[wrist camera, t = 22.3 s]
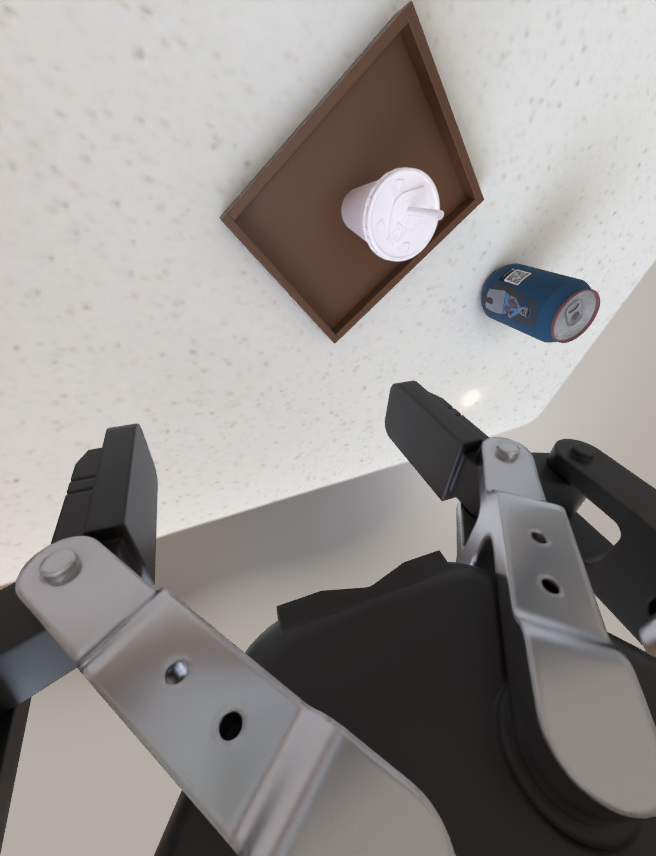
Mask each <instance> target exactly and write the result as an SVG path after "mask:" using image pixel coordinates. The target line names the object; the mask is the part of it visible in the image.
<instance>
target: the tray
mask: <svg viewBox="0 0 656 856" xmlns="http://www.w3.org/2000/svg"><path fill="white" fill-rule="evenodd" d="M403 167H408V168H415V169H419V170H421V171H423V172H424V173H426V174H427V175H428V176H429V177H430V178H431V179H432V181H433V182H434V184H435V186H436V188H437V191H438V195H439V202H440V210H442V211H443V212H444V216H443V218H442V219H441V220H438V223H437V227H436V230H435V232H434V234H433V236H432V238H431V240H430V241H429V243H428V244H427V245H426V247H425V248H424V249H423V250H422V251H421V252H420V253H419V254H417V255H416V256H414V257H413V258H411V259H408V260H405V261H390V260H385V259H383V258H381V257H379V256H377V255H376V254H375V253H374V252H373V251H372V250H371V249H370V247H369V245H368V243H367V242H366V241H365V240H363V239H362V238H361V237H360V236H358V235H357V234H356V233H354V232H353V231H352V230H351V229H349V228H348V227H347V226H346V225H345V223H344V221H343V219H342V214H341V208H342V203H343V200H344V198H345V196H346V195H347V194H348V193H349V192H350V191H351V190H353V189H355V188H357V187H360V186H363V185H366V184H368V183H371V182H374V181H377V180H379V179H380V178H381V177H382V176H384V175H385V174H386V173H387V172H390V171H392V170H394V169H396V168H403ZM483 200H484V198H483V196H482V193H481V190H480V187H479V185H478V182H477V179H476V176H475V173H474V171H473V168H472V165H471V162H470V160H469V157H468V154H467V151H466V149H465V146H464V143H463V140H462V138H461V135H460V132H459V129H458V127H457V124H456V121H455V118H454V116H453V113H452V110H451V107H450V105H449V102H448V99H447V96H446V93H445V91H444V88H443V85H442V82H441V80H440V77H439V74H438V71H437V69H436V66H435V63H434V60H433V58H432V55H431V52H430V49H429V47H428V44H427V41H426V38H425V36H424V33H423V30H422V27H421V25H420V22H419V19H418V16H417V13H416V11H415V8H414V5H413V2H412V1H410V2H409V3H408V4H407V5H405V6H404V7H403V8H402V9H401V10H399V11H398V12H397V13H396V14H395V15H394V17H393V18H392V19H391V20H390V21H389V22H388V24H387V25H386V26H385V27H384V28H383V29H382V30H381V32H380V33H379V34H378V35H377V36H376V37H375V39H374V40H373V41H372V42H371V43H370V44H369V46H368V47H367V48H366V49H365V50H364V51H363V53H362V54H361V55H360V56H359V57H358V58H357V59H356V61H355V62H354V63H353V64H352V65H351V66H350V68H349V69H348V70H347V71H346V72H345V73H344V75H343V76H342V77H341V78H340V79H339V80H338V82H337V83H336V84H335V85H334V86H333V87H332V88H331V90H330V91H329V92H328V93H327V94H326V95H325V97H324V98H323V99H322V100H321V101H320V102H319V104H318V105H317V106H316V107H315V108H314V109H313V111H312V112H311V113H310V114H309V115H308V116H307V117H306V119H305V120H304V121H303V122H302V123H301V124H300V126H299V127H298V128H297V129H296V130H295V131H294V133H293V134H292V135H291V136H290V137H289V138H288V140H287V141H286V142H285V143H284V144H283V145H282V146H281V148H280V149H279V150H278V151H277V152H276V153H275V155H274V156H273V157H272V158H271V159H270V160H269V162H268V163H267V164H266V165H265V166H264V167H263V169H262V170H261V171H260V172H259V173H258V174H257V175H256V177H255V178H254V179H253V180H252V181H251V182H250V184H249V185H248V186H247V187H246V188H245V189H244V191H243V192H242V193H241V194H240V195H239V196H238V198H237V199H236V200H235V201H234V202H233V203H232V204H231V206H230V207H229V208H228V209H227V210H226V211H225V213H224V214H223V215H222V216H221V217H220V219H221V220H222V221H223V223H224V224H225V225H226V226H227V227H228V228H229V229H230V230H231V231H232V232H233V233H234V235H235V236H236V237H237V238H238V239H239V240H240V241H241V242H242V243H243V244H244V245H245V247H246V248H247V249H248V250H249V251H250V252H251V253H252V254H253V255H254V256H255V257H256V259H257V260H258V261H259V262H260V263H261V264H262V265H263V266H264V267H265V268H266V269H267V271H268V272H269V273H270V274H271V275H272V276H273V277H274V278H275V279H276V280H277V281H278V283H279V284H280V285H281V286H282V287H283V288H284V289H285V290H286V291H287V292H288V293H289V295H290V296H291V297H292V298H293V299H294V300H295V301H296V302H297V303H298V304H299V305H300V306H301V308H302V309H303V310H304V311H305V312H306V313H307V314H308V315H309V316H310V317H311V318H312V320H313V321H314V322H315V323H316V324H317V325H318V326H319V327H320V328H321V329H322V330H323V332H324V333H325V334H326V335H327V336H328V337H329V338H330V339H331V340H332V341H333V342H334V343H336V342H337V341H338V340H339V339H340V338H341V337H342V336H343V335H344V334H345V333H346V332H347V331H348V330H350V329H351V328H352V327H353V326H354V325H355V324H356V323H357V322H358V321H359V320H360V319H361V318H362V317H363V316H364V315H365V314H366V313H367V312H368V311H369V310H370V309H371V308H372V307H373V306H374V305H375V304H376V303H377V302H379V301H380V300H381V299H382V298H383V297H384V296H385V295H386V294H387V293H388V292H389V291H390V290H391V289H392V288H393V287H394V286H395V285H396V284H397V283H398V282H399V281H400V280H401V279H402V278H403V277H404V276H405V275H406V274H408V273H409V272H410V271H411V270H412V269H413V268H414V267H415V266H416V265H417V264H418V263H419V262H420V261H421V260H422V259H423V258H424V257H425V256H426V255H427V254H428V253H429V252H430V251H431V250H432V249H433V248H434V247H435V246H437V245H438V244H439V243H440V242H441V241H442V240H443V239H444V238H445V237H446V236H447V235H448V234H449V233H450V232H451V231H452V230H453V229H454V228H455V227H456V226H457V225H458V224H459V223H460V222H461V221H462V220H463V219H464V218H466V217H467V216H468V215H469V214H470V213H471V212H472V211H473V210H474V209H475V208H476V207H477V206H478V205H479V204H480V203H481V202H482V201H483Z"/></svg>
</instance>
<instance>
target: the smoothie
mask: <svg viewBox="0 0 656 856" xmlns="http://www.w3.org/2000/svg"><path fill="white" fill-rule="evenodd" d="M341 214H342V219H343V221H344V223H345V225H346V226H347V227H348V228H349V229H351V230H352V231H353V232H354V233H356V234H357V235H358V236H360V237H361V238H362V239H363V240H365V241H366V242H367V243H368V245H369V247H370V249H371V250H372V251H373V252H374V253H375V254H376V255H377V256H379V257H381V258H383V259H385V260H390V261H405V260H408V259H411V258H413V257H414V256H416V255H417V254H419V253H420V252H421V251H422V250H423V249H424V248H425V247H426V245H427V244H428V243H429V241H430V240H431V238H432V236H433V234H434V232H435V230H436V227H437V223H438V220H441V219H442V218H443V216H444V212H443V211H442V210H440V202H439V195H438V191H437V188H436V186H435V184H434V182H433V181H432V179H431V178H430V177H429V176H428V175H427V174H426V173H424V172H423V171H421V170H419V169H415V168H408V167H403V168H396V169H394V170H392V171H390V172H387V173H386V174H385V175H384V176H382V177H381V178H380V179H379V180H377V181H374V182H371V183H368V184H366V185H363V186H360V187H357V188H355V189H353V190H351V191H350V192H349V193H348V194H347V195H346V196H345V198H344V200H343V203H342V208H341Z"/></svg>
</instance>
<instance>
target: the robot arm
mask: <svg viewBox="0 0 656 856" xmlns="http://www.w3.org/2000/svg"><path fill="white" fill-rule="evenodd" d="M385 428H386V432H387V434H388V436H389V437H390V439H391V440H392V441H393V442H394V443H395V445H396V446H397V447H398V448H399V450H400V451H401V452H402V453H403V454H404V456H405V457H406V458H407V459H408V460H409V462H410V463H411V464H412V465H413V467H414V468H415V469H416V470H417V471H418V473H419V474H420V475H421V476H422V478H423V479H424V480H425V481H426V482H427V484H428V485H429V486H430V487H431V488H432V490H433V491H434V492H435V493H436V494H437V496H438V497H439V498H440V499H441V501H444V500H448V499H451V498H454V497H457V498H458V500H459V503H458V505H457V559H456V562H447V561H446V559H445V558H444V556H443V555H442V554H441V552H440V551H436V552H433V553H430V554H427V555H424V556H421V557H418V558H415V559H412V560H410V561H407V562H404V563H403V564H401V565H400V566H398V567H397V568H396V569H394V570H393V571H392V572H390V573H389V574H387V575H386V576H385V577H383V578H382V579H381V580H380V581H378V582H376V583H375V584H374V585H372V586H370V587H366V588H353V589H341V590H327V591H320V592H317V593H314V594H311V595H308V596H306V597H302V598H300V599H297V600H294V601H291V602H288V603H285V604H282V605H280V606H277V615H278V621H277V622H275V623H274V624H273V625H271V626H270V627H268V628H267V629H266V630H265V631H264V632H263V633H262V634H261V635H259V637H258V638H257V639H256V640H255V641H254V642H253V643H252V644H251V645H250V647H249V648H248V649H247V651H246V652H245V653H244V652H243V651H242V650H241V649H239V648H238V647H237V646H236V645H235V644H233V643H232V642H231V641H230V640H229V639H227V638H226V637H225V636H224V635H223V634H221V633H220V632H219V631H218V630H216V629H215V628H214V627H213V626H212V625H210V624H209V623H208V622H207V621H206V620H204V619H203V618H202V617H201V616H200V615H198V614H197V613H196V612H195V611H193V610H192V609H191V608H189V607H188V606H187V605H186V604H185V603H184V602H183V601H181V600H180V599H179V598H178V597H176V596H175V595H174V594H173V593H171V592H170V591H168V590H167V589H165V588H160V589H159V590H156V589H155V588H153V587H152V586H151V585H153V584H154V583H155V582H154V581H155V553H156V521H157V489H158V482H157V474H156V469H155V466H154V462H153V460H152V457H151V454H150V451H149V448H148V446H147V443H146V440H145V437H144V434H143V432H142V429H141V427H140V425H139V424H131V425H125V426H119V427H112V428H108V429H107V430H106V434H105V438H104V442H103V447H102V448H98V449H92V450H88V451H87V452H86V453H85V455H84V456H83V457H82V458H81V459H80V460H79V461H78V462H77V463H76V464H75V468H74V471H73V474H72V477H71V482H70V484H69V487H68V490H67V495H66V497H65V500H64V503H63V506H62V509H61V513H60V516H59V519H58V522H57V526H56V529H55V532H54V535H53V538H52V542H51V545H49V546H47V547H46V548H44V549H42V550H41V551H40V552H38V553H37V554H36V555H34V556H33V557H32V558H31V559H30V560H29V561H28V562H27V563H26V564H25V566H24V567H23V568H22V570H21V571H20V573H19V575H18V577H17V580H16V582H15V583H13V584H12V585H10V586H8V587H6V588H4V589H2V590H0V852H1V848H2V843H3V838H4V832H5V828H6V823H7V818H8V812H9V807H10V802H11V797H12V792H13V786H14V782H15V777H16V772H17V767H18V762H19V757H20V752H21V747H22V742H23V737H24V732H25V726H26V722H27V717H28V711H29V707H30V702H31V697H32V696H33V695H35V694H36V693H37V692H39V691H41V690H43V689H44V688H45V687H47V686H49V685H50V684H52V683H53V682H55V681H56V680H58V679H60V678H61V677H63V676H64V675H66V674H67V673H69V672H70V671H72V670H74V669H75V668H78V669H79V670H80V672H81V673H82V674H83V675H84V676H85V678H86V679H87V680H88V681H89V682H90V684H91V685H92V686H93V687H94V688H95V689H96V690H97V692H98V693H99V694H100V695H101V696H102V697H103V699H104V700H105V701H106V702H107V703H108V704H109V706H110V707H111V708H112V709H113V710H114V711H115V713H116V714H117V715H118V716H119V717H120V718H121V720H122V721H123V722H124V723H125V724H126V725H127V727H128V728H129V729H130V730H131V731H132V732H133V734H134V735H135V736H136V737H137V738H138V739H139V740H140V742H141V743H142V744H143V745H144V746H145V748H146V749H147V750H148V751H149V752H150V753H151V754H152V755H153V757H154V758H155V759H156V760H157V761H158V763H159V764H160V765H161V766H162V767H163V768H164V770H165V771H166V772H167V773H168V774H169V775H170V777H171V778H172V779H173V780H174V781H175V782H176V784H177V785H178V786H179V787H180V788H181V789H182V791H181V794H180V796H179V798H178V801H177V803H176V805H175V808H174V810H173V812H172V815H171V817H170V820H169V822H168V824H167V826H166V829H165V831H164V833H163V836H162V838H161V840H160V843H159V845H158V847H157V850H156V852H155V855H154V856H656V489H655V488H653V487H652V486H650V485H649V484H647V483H646V482H645V481H643V480H642V479H640V478H639V477H637V476H636V475H635V474H633V473H631V472H630V471H629V470H627V469H626V468H625V467H623V466H622V465H620V464H619V463H617V462H616V461H615V460H613V459H612V458H610V457H609V456H607V455H606V454H604V453H603V452H602V451H600V450H599V449H597V448H596V447H594V446H592V445H590V444H587V443H584V442H582V441H578V440H573V439H562V440H559V441H557V442H556V444H555V445H554V447H553V449H552V450H551V452H550V453H531V452H530V451H529V450H528V449H527V448H526V447H524V446H523V445H521V444H520V443H518V442H516V441H513V440H510V439H507V438H502V437H492V438H489V437H488V436H487V435H486V434H484V433H483V432H482V431H481V430H480V429H478V428H477V427H476V426H475V425H474V424H472V423H471V422H470V421H469V420H468V419H466V418H465V417H464V416H463V415H462V416H461V413H459V412H458V411H457V410H456V409H455V408H454V409H453V408H452V406H451V405H450V404H449V403H447V402H446V401H445V400H444V399H443V398H441V397H438V396H436V395H434V394H432V393H430V392H428V391H427V390H426V389H424V388H423V387H422V386H421V385H420V384H419V383H417V382H416V381H408V382H402V383H396V384H393V385H392V387H391V389H390V394H389V400H388V406H387V412H386V417H385ZM586 498H588V499H589V500H590V501H591V502H593V503H594V504H595V505H596V506H597V507H598V508H600V509H601V510H602V511H603V512H605V514H607V515H608V516H609V517H610V518H611V519H613V520H614V521H615V522H616V523H617V525H618V526H619V528H620V531H621V538H620V540H619V541H618V542H617V543H616V544H615V545H612V544H611V543H610V542H609V541H608V540H607V539H606V538H605V537H604V536H602V535H601V534H600V533H599V532H598V531H597V530H596V529H595V528H594V527H592V526H591V525H590V524H589V523H588V522H587V521H586V520H585V519H584V518H583V517H581V516H580V515H579V514H578V513H577V512H576V511H577V510H578V509H579V507H580V506H581V504H582V503H583V502H584V500H585V499H586ZM594 594H595V595H596V596H597V597H598V598H599V599H600V600H601V601H602V603H603V604H604V605H605V606H606V607H607V608H608V609H609V610H610V611H611V612H612V613H613V614H614V615H615V616H616V618H617V619H618V620H619V621H620V622H621V623H622V624H623V625H624V626H625V627H626V628H627V629H628V630H629V631H630V632H631V633H632V635H633V636H634V637H635V638H636V639H637V640H638V641H639V642H640V643H641V644H642V645H643V646H644V648H645V650H646V651H643V650H641V649H639V648H637V647H635V646H634V645H632V644H629V643H627V642H626V641H624V640H622V639H620V638H618V637H616V636H614V635H612V634H610V633H608V632H607V630H606V628H605V625H604V622H603V619H602V616H601V613H600V610H599V607H598V604H597V601H596V598H595V595H594Z"/></svg>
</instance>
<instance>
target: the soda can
mask: <svg viewBox="0 0 656 856" xmlns="http://www.w3.org/2000/svg"><path fill="white" fill-rule="evenodd" d="M481 303H482V307H483V310H484V312H485V313H486V315H487V316H488V317H490V318H492V319H494V320H497V321H499V322H501V323H503V324H505V325H508V326H510V327H512V328H514V329H516V330H519V331H521V332H523V333H525V334H528V335H530V336H532V337H534V338H536V339H539V340H541V341H543V342H560V343H566V342H570V341H572V340H574V339H576V338H577V337H579V336H580V335H581V334H583V333H584V332H585V331H586V330H587V328H588V327H589V326H590V325H591V323H592V322H593V320H594V319H595V317H596V315H597V313H598V310H599V307H600V297H599V294H598V293H597V292H596V291H595V290H592V289H591V288H590V286H589V285H588V284H587V283H586V282H585V281H583V280H580V279H576V278H572V277H568V276H564V275H560V274H557V273H553V272H549V271H545V270H541V269H537V268H533V267H529V266H525V265H521V264H510V265H507V266H505V267H503V268H501V269H499V270H497V271H495V272H494V273H493V274H492V275H491V276H490V277H489V278H488V279H487V281H486V283H485V284H484V286H483V289H482V292H481Z"/></svg>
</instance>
